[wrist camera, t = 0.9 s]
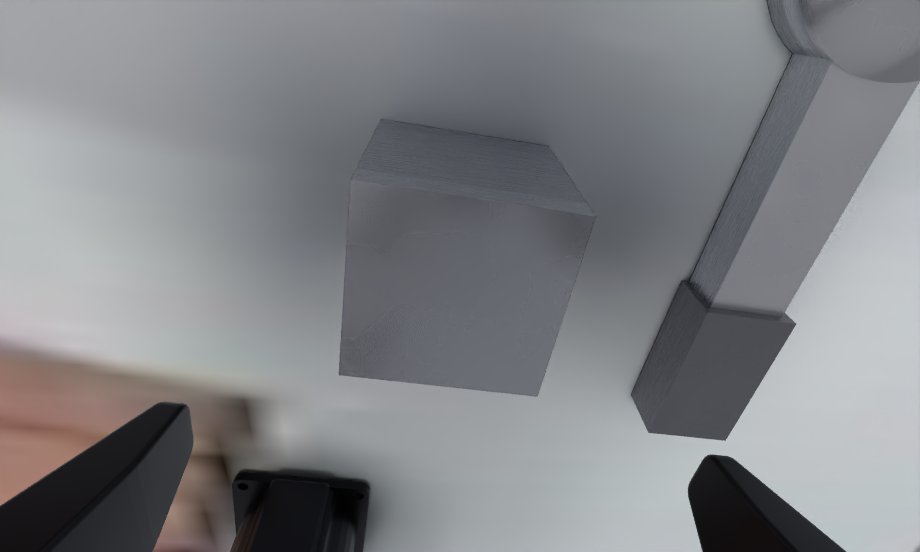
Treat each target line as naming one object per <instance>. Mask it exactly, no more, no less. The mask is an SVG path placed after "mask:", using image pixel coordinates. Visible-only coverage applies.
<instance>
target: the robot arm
mask: <svg viewBox="0 0 920 552" xmlns="http://www.w3.org/2000/svg"><path fill="white" fill-rule="evenodd" d="M192 448H193V431H192V424H191V416H190V410H189V407H188V406H187V405H186V404H184V403H175V402H159V403H157V404H155V405H153V406H152V407H150V408H149V409H147V410H146V411H144V412H143V413H141V414H140V415H138V416H137V417H135V418H134V419H132V420H131V421H129V422H127V423H126V424H124V425H123V426H121V427H120V428H118V429H117V430H115V431H114V432H112V433H111V434H109V435H108V436H106V437H105V438H103V439H102V440H100V441H98V442H97V443H95V444H94V445H92V446H91V447H89V448H88V449H86V450H85V451H83V452H82V453H80V454H79V455H77V456H76V457H74V458H72V459H71V460H69V461H68V462H66V463H65V464H63V465H62V466H60V467H59V468H57V469H56V470H54V471H53V472H51V473H50V474H48V475H46V476H45V477H43V478H42V479H40V480H39V481H37V482H36V483H34V484H33V485H31V486H30V487H28V488H27V489H25V490H24V491H22V492H20V493H19V494H17V495H16V496H14V497H13V498H11V499H10V500H8V501H7V502H5V503H4V504H2V505H1V506H0V552H152V551H153V549H154V547H155V544H156V542H157V539H158V537H159V535H160V532H161V530H162V527H163V524H164V522H165V519H166V517H167V514H168V512H169V509H170V506H171V504H172V501H173V499H174V496H175V494H176V491H177V488H178V486H179V483H180V481H181V478H182V476H183V473H184V470H185V468H186V465H187V463H188V460H189V457H190V455H191V452H192ZM232 490H233V501H234V512H235V524H236V538H235V540H234V543H233V546H232V548H231V551H230V552H363V545H364V537H365V528H366V520H367V512H368V503H369V495H370V487H369V486H368V485H367V484H365V483H360V482H349V481H337V480H325V479H314V478H302V477H290V476H279V475H267V474H255V473H239V474H237V475H236V477H235V479H234V481H233V484H232ZM688 497H689V501H690V505H691V509H692V513H693V517H694V521H695V524H696V528H697V532H698V536H699V540H700V544H701V548H702V551H703V552H846V551H845V550H844V549H842V548H841V547H840V546H839V545H838V544H836V543H835V542H834V541H833V540H831V539H830V538H829V537H828V536H827V535H825V534H824V533H823V532H822V531H821V530H819V529H818V528H817V527H816V526H815V525H813V524H812V523H811V522H810V521H808V520H807V519H806V518H805V517H804V516H802V515H801V514H800V513H799V512H798V511H796V510H795V509H794V508H793V507H791V506H790V505H789V504H788V503H787V502H785V501H784V500H783V499H782V498H781V497H779V496H778V495H777V494H776V493H774V492H773V491H772V490H771V489H770V488H768V487H767V486H766V485H765V484H764V483H762V482H761V481H760V480H759V479H757V478H756V477H755V476H754V475H753V474H751V473H750V472H749V471H748V470H747V469H745V468H744V467H743V466H742V465H741V464H739V463H738V462H737V461H736V460H734V459H733V458H731V457H728V456H720V455H708V456H706V457H705V458H704V459H703V460H702V462H701V464H700V465H699V467H698V469H697V471H696V472H695V474H694V476H693V477H692V479H691V481H690V483H689V486H688Z"/></svg>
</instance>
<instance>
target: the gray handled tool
mask: <svg viewBox="0 0 920 552" xmlns="http://www.w3.org/2000/svg"><path fill="white" fill-rule="evenodd" d="M768 7H769V11H770V15H771V19H772V22H773V24H774V27H775V29H776V31H777V33H778V35H779V37H780V38H781V40H782V41H783V43H784V44H785V46H786V47H787V48H788V49H789V50H790V51H791V52H792V53H793V55H792V57H791V59H790V62H789V64H788V66H787V68H786V70H785V73H784V75H783V77H782V79H781V81H780V84H779V86H778V88H777V90H776V92H775V95H774V97H773V99H772V101H771V103H770V106H769V108H768V110H767V112H766V114H765V117H764V119H763V121H762V123H761V125H760V128H759V130H758V132H757V134H756V136H755V139H754V141H753V143H752V145H751V147H750V150H749V152H748V154H747V156H746V158H745V160H744V163H743V165H742V167H741V169H740V171H739V174H738V176H737V178H736V180H735V182H734V185H733V187H732V189H731V191H730V193H729V196H728V198H727V200H726V202H725V204H724V207H723V209H722V211H721V213H720V215H719V218H718V220H717V222H716V224H715V226H714V229H713V231H712V233H711V235H710V237H709V240H708V242H707V244H706V246H705V248H704V251H703V253H702V255H701V257H700V259H699V262H698V264H697V266H696V268H695V270H694V273H693V275H692V277H691V279H690V281H689V282H687V281H682V282H681V284H680V287H679V289H678V291H677V293H676V296H675V298H674V300H673V302H672V304H671V307H670V309H669V311H668V313H667V316H666V318H665V320H664V322H663V325H662V327H661V329H660V331H659V334H658V336H657V338H656V340H655V343H654V345H653V347H652V349H651V351H650V354H649V356H648V358H647V360H646V363H645V365H644V367H643V369H642V372H641V374H640V376H639V378H638V381H637V383H636V385H635V387H634V390H633V392H632V394H631V396H632V398H633V400H634V402H635V404H636V407H637V409H638V411H639V413H640V415H641V417H642V420H643V422H644V424H645V426H646V428H647V430H648V433H657V434H667V435H677V436H686V437H696V438H706V439H716V440H725V441H726V439H727V437H728V436H729V434H730V432H731V431H732V429H733V427H734V426H735V424H736V422H737V421H738V419H739V417H740V416H741V414H742V413H743V411H744V409H745V408H746V406H747V404H748V403H749V401H750V399H751V398H752V396H753V394H754V393H755V391H756V389H757V388H758V386H759V385H760V383H761V381H762V380H763V378H764V376H765V375H766V373H767V371H768V370H769V368H770V366H771V365H772V363H773V361H774V360H775V358H776V357H777V355H778V353H779V352H780V350H781V348H782V347H783V345H784V343H785V342H786V340H787V338H788V337H789V335H790V333H791V332H792V330H793V329H794V327H795V325H796V323H795V322H794V321H793V320H792V319H791V318H789V317H788V316H787V315H786V314H785V313H784V312H785V311H786V309H787V307H788V306H789V304H790V302H791V300H792V299H793V297H794V295H795V294H796V292H797V290H798V289H799V287H800V285H801V283H802V282H803V280H804V278H805V277H806V275H807V273H808V271H809V270H810V268H811V266H812V265H813V263H814V261H815V259H816V258H817V256H818V254H819V253H820V251H821V249H822V247H823V246H824V244H825V242H826V241H827V239H828V237H829V236H830V234H831V232H832V230H833V229H834V227H835V225H836V224H837V222H838V220H839V218H840V217H841V215H842V213H843V212H844V210H845V208H846V206H847V205H848V203H849V201H850V200H851V198H852V196H853V194H854V193H855V191H856V189H857V188H858V186H859V184H860V183H861V181H862V179H863V177H864V176H865V174H866V172H867V171H868V169H869V167H870V165H871V164H872V162H873V160H874V159H875V157H876V155H877V153H878V152H879V150H880V148H881V147H882V145H883V143H884V141H885V140H886V138H887V136H888V135H889V133H890V131H891V129H892V128H893V126H894V124H895V123H896V121H897V119H898V118H899V116H900V114H901V112H902V111H903V109H904V107H905V106H906V104H907V102H908V100H909V99H910V97H911V95H912V94H913V92H914V90H915V88H916V87H917V85H918V83H919V82H920V0H768Z"/></svg>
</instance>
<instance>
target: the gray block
mask: <svg viewBox="0 0 920 552" xmlns="http://www.w3.org/2000/svg"><path fill="white" fill-rule="evenodd" d="M595 218H596V216H595V214H594V213H593V211H592V210H591V208H590V207H589V205H588V204H587V202H586V201H585V199H584V198H583V196H582V195H581V193H580V192H579V190H578V189H577V187H576V186H575V185H574V183H573V182H572V180H571V179H570V177H569V176H568V174H567V173H566V171H565V170H564V168H563V167H562V165H561V164H560V162H559V161H558V159H557V158H556V156H555V155H554V153H553V152H552V150H551V149H550V147H549V146H544V145H538V144H532V143H526V142H520V141H514V140H508V139H501V138H495V137H489V136H483V135H477V134H471V133H464V132H458V131H452V130H446V129H440V128H434V127H428V126H421V125H415V124H409V123H403V122H397V121H391V120H384V119H381V120H380V122H379V124H378V126H377V128H376V130H375V132H374V134H373V136H372V138H371V140H370V142H369V144H368V146H367V148H366V150H365V152H364V154H363V156H362V158H361V160H360V162H359V164H358V166H357V168H356V170H355V172H354V174H353V176H352V178H351V181H350V198H349V214H348V231H347V247H346V264H345V280H344V297H343V313H342V330H341V346H340V363H339V375H343V376H352V377H362V378H371V379H380V380H389V381H399V382H408V383H417V384H426V385H436V386H445V387H454V388H463V389H473V390H482V391H491V392H501V393H510V394H519V395H528V396H538V393H539V390H540V387H541V384H542V381H543V378H544V375H545V372H546V369H547V366H548V363H549V359H550V356H551V353H552V350H553V347H554V344H555V341H556V338H557V335H558V332H559V329H560V326H561V322H562V319H563V316H564V313H565V310H566V307H567V304H568V301H569V298H570V295H571V292H572V289H573V285H574V282H575V279H576V276H577V273H578V270H579V267H580V264H581V261H582V258H583V255H584V252H585V248H586V245H587V242H588V239H589V236H590V233H591V230H592V227H593V224H594V221H595Z"/></svg>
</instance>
